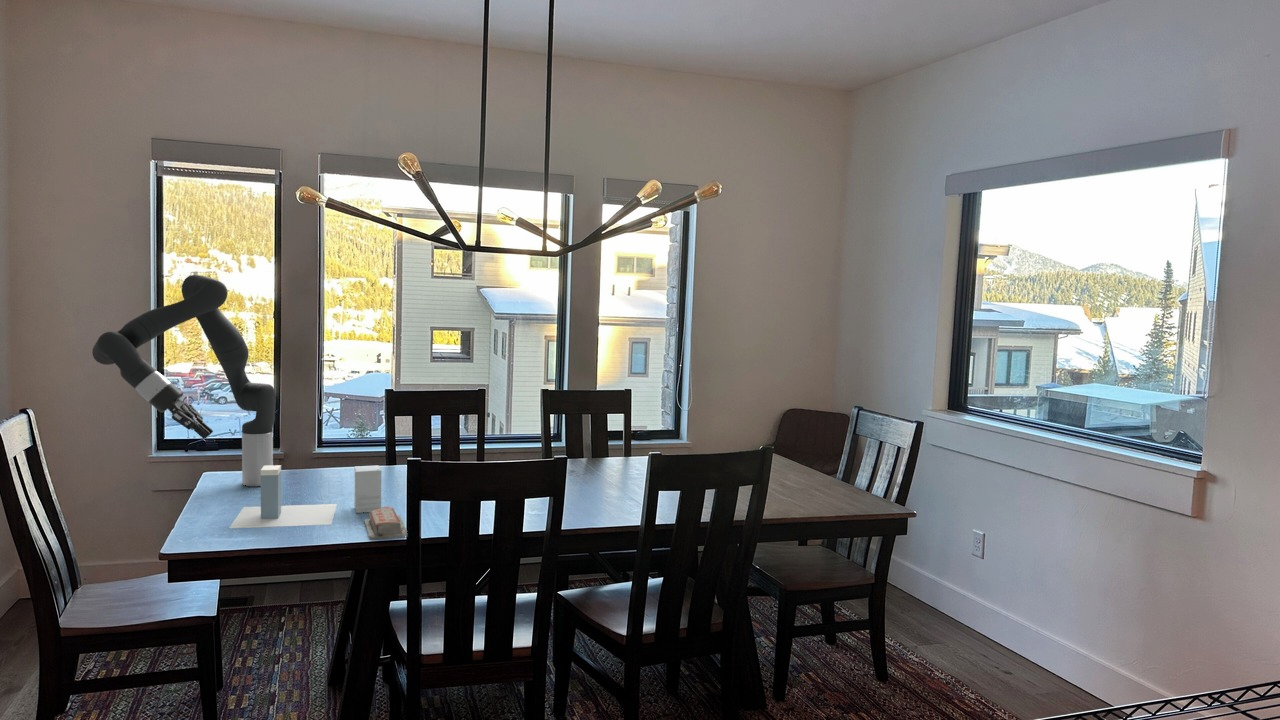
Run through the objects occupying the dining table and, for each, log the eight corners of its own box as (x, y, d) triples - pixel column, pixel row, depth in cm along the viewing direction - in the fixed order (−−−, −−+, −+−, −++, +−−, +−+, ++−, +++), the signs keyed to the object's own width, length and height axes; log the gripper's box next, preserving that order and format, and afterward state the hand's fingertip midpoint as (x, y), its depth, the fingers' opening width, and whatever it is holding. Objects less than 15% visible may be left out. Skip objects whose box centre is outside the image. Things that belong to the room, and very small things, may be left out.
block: (264, 513, 243) (264, 465, 241) (281, 512, 244) (281, 465, 243) (260, 519, 237) (260, 470, 236) (278, 518, 238) (278, 469, 237)
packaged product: (408, 520, 227) (369, 523, 223) (408, 538, 227) (369, 541, 223) (400, 503, 243) (364, 506, 240) (400, 520, 244) (364, 522, 240)
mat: (243, 508, 248) (243, 507, 248) (337, 505, 256) (337, 503, 255) (228, 529, 227) (228, 528, 227) (331, 525, 234) (331, 524, 234)
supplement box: (379, 505, 257) (380, 464, 256) (381, 512, 250) (381, 470, 249) (354, 507, 254) (354, 465, 253) (355, 513, 247) (355, 471, 246)
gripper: (162, 385, 223) (214, 430, 228) (176, 378, 237) (224, 421, 241) (140, 405, 222) (192, 449, 227) (155, 397, 236) (204, 440, 240)
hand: (208, 435), depth 234 cm, fingers open, 3 cm apart
